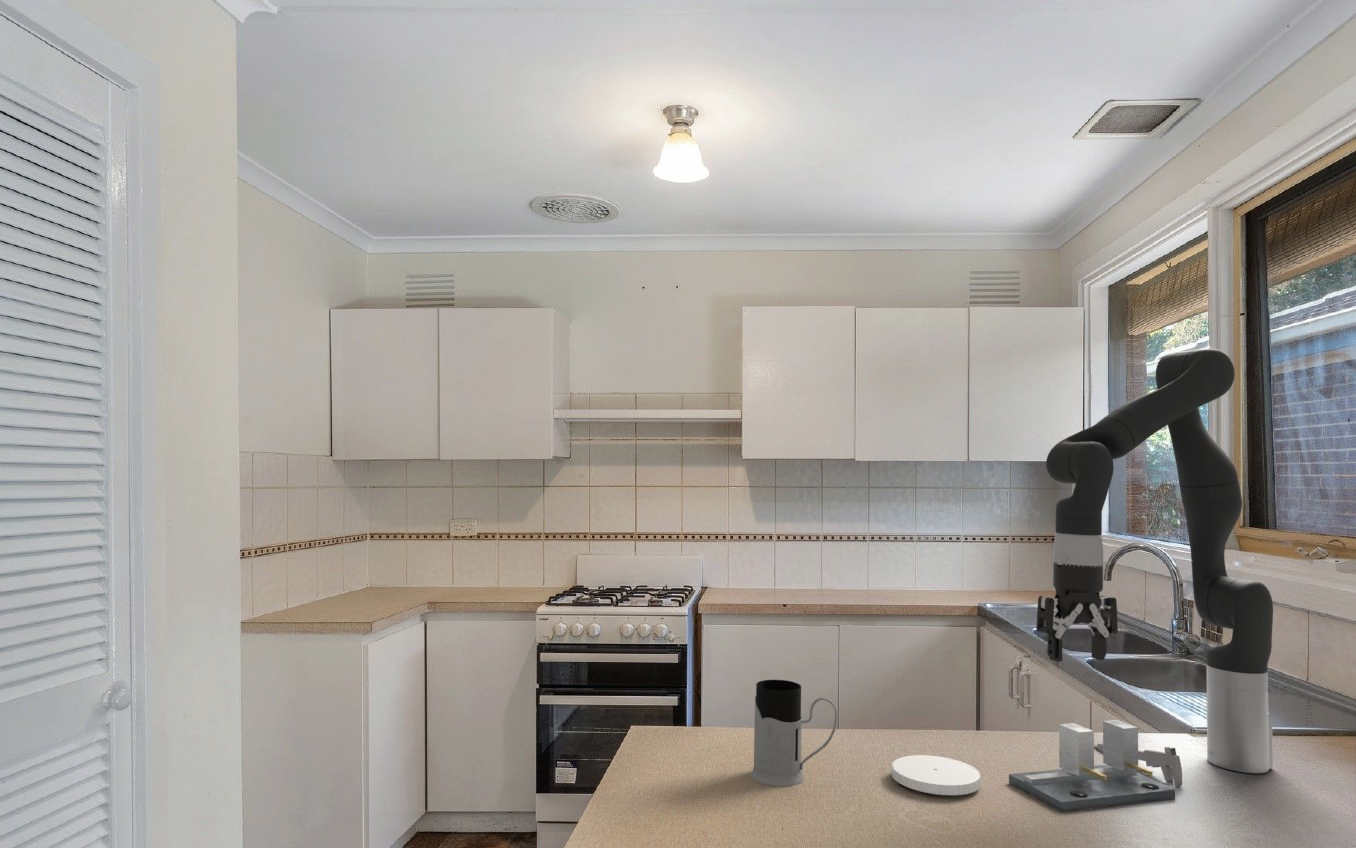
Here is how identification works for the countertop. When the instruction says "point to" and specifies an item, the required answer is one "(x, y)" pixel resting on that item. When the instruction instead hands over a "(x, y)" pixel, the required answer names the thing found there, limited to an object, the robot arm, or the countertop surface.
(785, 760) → the glass holder
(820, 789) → the countertop surface
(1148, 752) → the caliper
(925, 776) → the plastic lid
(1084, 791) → the hole plate
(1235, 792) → the countertop surface
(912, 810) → the countertop surface
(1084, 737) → the leg
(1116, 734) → the fixed leg
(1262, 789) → the countertop surface
